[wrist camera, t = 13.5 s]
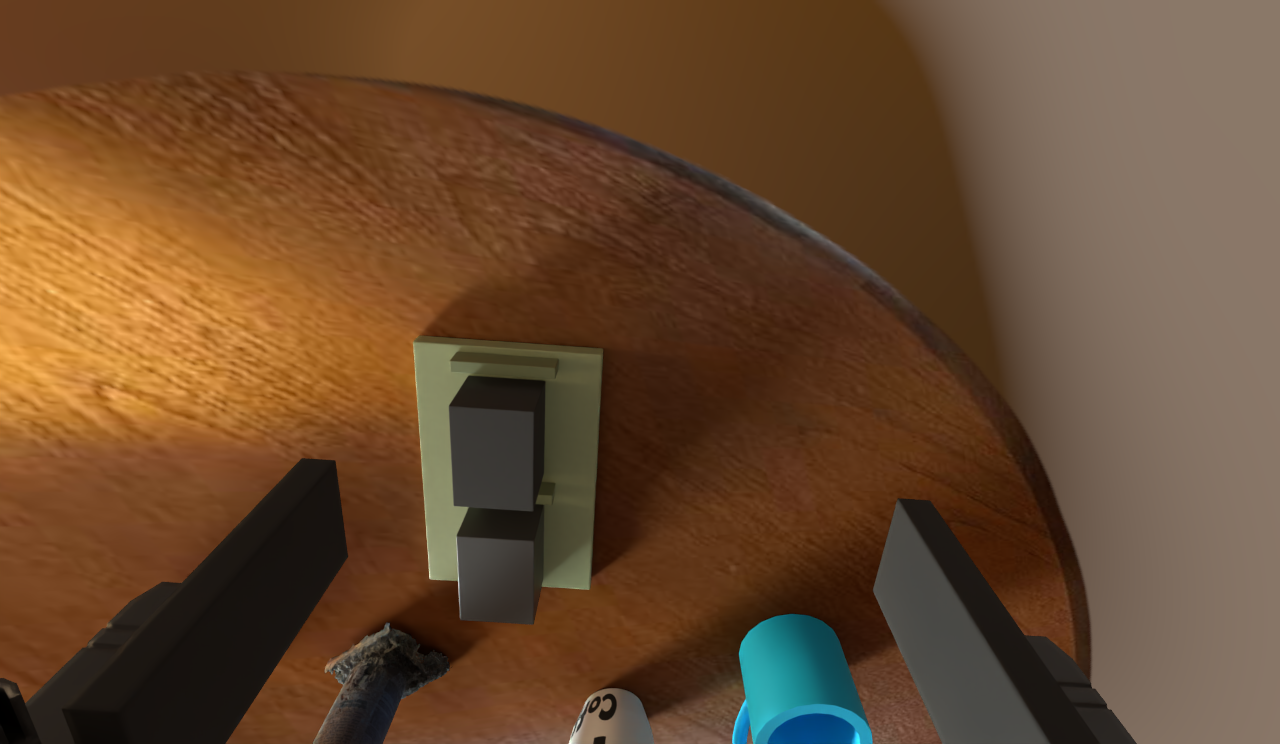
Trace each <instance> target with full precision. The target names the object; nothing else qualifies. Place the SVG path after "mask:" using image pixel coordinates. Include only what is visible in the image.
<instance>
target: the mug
mask: <svg viewBox="0 0 1280 744" xmlns="http://www.w3.org/2000/svg"><path fill="white" fill-rule="evenodd" d="M739 658H740V664H741V671H742V677H743V683H744V689H745V695H746V700H745V702H744V703H743V705H742V707H741V709H740V712H739V714H738V717H737V719H736V723H735V727H734V732H733V744H747V735H748V730H749V726H751V732H752V738H753V744H872V732H871V729H870V727H869V724H868V721H867V718H866V715H865V712H864V710H863V707H862V704H861V701H860V698H859V695H858V693H857V690H856V687H855V684H854V681H853V678H852V675H851V673H850V670H849V667H848V664H847V661H846V658H845V656H844V653H843V650H842V647H841V644H840V641H839V639H838V637H837V636H836V634H835V632H834V630H833V629H832V628H831V627H829V626H828V625H827V624H826V623H824V622H823V621H821V620H819V619H816V618H814V617H811V616H808V615H799V614H787V615H780V616H775V617H772V618H770V619H767V620H765V621H762V622H761V623H759V624H758V625H757V626H755V627H754V628H753V629H751V630H750V631H749V632H748V634H747V635H746V636H745V638H744V639H743V641H742V642H741V647H740V651H739Z"/></svg>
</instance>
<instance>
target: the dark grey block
mask: <svg viewBox="0 0 1280 744" xmlns="http://www.w3.org/2000/svg"><path fill="white" fill-rule="evenodd" d="M545 383H546V382H545V381H540V380H526V379H512V378H497V377H483V376H468V377H467V378H466V380H465V381H464V383H463V385H462V386H461V388H460V389H459V391H458V392H457V394H456V395H455V397H454V398H453V400H452V401H451V403H450V405H449V424H450V444H451V465H452V485H453V505H454V506H460V507H475V508H490V509H505V510H520V511H534V507H535V504H536V500H537V497H538V493H539V489H540V486H541V482H542V479H543V475H544V446H545Z"/></svg>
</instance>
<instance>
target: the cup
mask: <svg viewBox="0 0 1280 744" xmlns="http://www.w3.org/2000/svg"><path fill="white" fill-rule="evenodd" d="M569 744H654V740H653V735H652V730H651V727H650V725H649V722H648V719H647V716H646V713H645V711H644V708H643V705H642V703H641V701H640V699H639V698H638V697H637V696H636V695H634V694H633V693H631V692H629V691H626V690H623V689H618V688H608V689H603V690H600V691H597V692H595V693H594V694H592V695H591V696H590V697H589V698H588V699H587V701H586V703H585V705H584V707H583V709H582V711H581V713H580V715H579V717H578V720H577V722H576V724H575V726H574V728H573V732H572V735H571V738H570V742H569Z"/></svg>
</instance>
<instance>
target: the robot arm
mask: <svg viewBox="0 0 1280 744" xmlns="http://www.w3.org/2000/svg"><path fill="white" fill-rule="evenodd" d="M347 557H348V553H347V546H346V538H345V530H344V523H343V515H342V507H341V500H340V492H339V485H338V477H337V469H336V462H335V460H320V459H305V458H302V459H301V460H300V461H299V462H298V463H297V464H296V465H295V466H294V467H293V468H292V469H291V470H290V471H289V472H288V473H287V474H286V475H285V477H284V478H283V479H282V480H281V481H280V482H279V483H278V484H277V485H276V486H275V487H274V488H273V489H272V490H271V491H270V492H269V493H268V494H267V495H266V496H265V497H264V498H263V499H262V500H261V501H260V502H259V504H258V505H257V506H256V507H255V508H254V509H253V510H252V511H251V512H250V513H249V514H248V515H247V516H246V517H245V518H244V519H243V520H242V521H241V522H240V523H239V524H238V525H237V526H236V527H235V528H234V529H233V531H232V532H231V533H230V534H229V535H228V536H227V537H226V538H225V539H224V540H223V541H222V542H221V543H220V544H219V545H218V546H217V547H216V548H215V549H214V550H213V551H212V552H211V553H210V554H209V555H208V557H207V558H206V559H205V560H204V561H203V562H202V563H201V564H200V565H199V566H198V567H197V568H196V569H195V570H194V571H193V572H192V573H191V574H190V575H189V576H188V577H187V578H186V579H185V580H184V581H183V582H182V583H171V582H161V583H160V584H158V585H156V586H155V587H153V588H151V589H150V590H148V591H146V592H145V593H143V594H141V595H140V596H138V597H137V598H135V599H133V600H132V601H130V602H129V603H128V604H127V605H126V606H125V607H124V608H123V609H122V610H121V611H120V612H119V613H118V614H117V615H116V616H115V617H114V618H113V619H112V620H111V621H110V622H109V623H108V624H107V627H106V628H102V629H101V630H100V631H99V632H98V633H97V634H96V635H95V636H94V637H93V638H92V639H91V640H90V641H89V642H88V645H87V647H86V648H82V649H81V650H80V651H79V652H78V653H77V654H76V655H75V656H74V657H73V658H72V659H71V660H70V661H68V662H67V663H66V664H65V665H64V666H63V667H62V668H61V669H60V670H59V671H58V672H57V673H56V674H55V675H54V676H53V677H52V678H51V679H50V680H49V681H48V682H47V683H46V684H45V685H44V686H43V687H42V688H41V689H40V690H39V691H38V692H37V693H36V694H34V695H33V696H32V697H31V698H30V699H29V700H28V701H27V702H26V703H25V702H24V700H23V697H22V695H21V693H20V690H19V688H18V686H17V683H14V682H12V681H9V680H7V679H4V678H0V744H225V743H226V742H227V740H228V739H229V737H230V736H231V734H232V733H233V731H234V730H235V728H236V727H237V725H238V724H239V722H240V721H241V719H242V718H243V716H244V714H245V713H246V711H247V710H248V708H249V707H250V705H251V704H252V702H253V701H254V699H255V698H256V696H257V695H258V693H259V692H260V690H261V689H262V687H263V685H264V684H265V682H266V681H267V679H268V678H269V676H270V675H271V673H272V672H273V670H274V669H275V667H276V666H277V664H278V663H279V661H280V660H281V658H282V657H283V655H284V653H285V652H286V650H287V649H288V647H289V646H290V644H291V643H292V641H293V640H294V638H295V637H296V635H297V634H298V632H299V631H300V629H301V628H302V626H303V624H304V623H305V621H306V620H307V618H308V617H309V615H310V614H311V612H312V611H313V609H314V608H315V606H316V605H317V603H318V602H319V600H320V599H321V597H322V596H323V594H324V592H325V591H326V589H327V588H328V586H329V585H330V583H331V582H332V580H333V579H334V577H335V576H336V574H337V573H338V571H339V570H340V568H341V567H342V565H343V563H344V562H345V560H346V559H347ZM873 592H874V594H875V597H876V599H877V601H878V603H879V605H880V608H881V610H882V612H883V614H884V616H885V618H886V621H887V623H888V625H889V627H890V629H891V632H892V634H893V636H894V638H895V640H896V643H897V645H898V647H899V649H900V651H901V654H902V656H903V658H904V660H905V662H906V665H907V667H908V669H909V671H910V673H911V676H912V678H913V680H914V682H915V684H916V686H917V689H918V691H919V693H920V695H921V697H922V700H923V702H924V704H925V706H926V708H927V711H928V713H929V715H930V717H931V719H932V722H933V724H934V726H935V728H936V730H937V733H938V735H939V737H940V739H941V741H942V744H1136V742H1135V741H1134V739H1133V738H1132V737H1131V736H1130V734H1129V733H1128V732H1127V730H1126V729H1125V728H1124V726H1123V725H1122V724H1121V722H1120V721H1119V720H1118V719H1117V717H1116V716H1115V715H1114V713H1113V712H1112V710H1109V709H1108V708H1107V704H1106V703H1105V701H1104V700H1103V698H1102V697H1101V696H1100V695H1099V693H1098V692H1097V691H1096V689H1092V687H1091V683H1090V681H1089V680H1088V679H1087V677H1086V676H1085V675H1084V673H1083V672H1082V671H1081V669H1080V668H1079V667H1078V665H1077V664H1076V663H1075V661H1074V660H1073V659H1072V658H1071V657H1070V656H1068V655H1067V654H1066V653H1065V652H1064V651H1062V650H1061V649H1060V648H1059V647H1057V646H1056V645H1055V644H1054V643H1053V642H1051V641H1050V640H1049V639H1048V638H1047V637H1042V636H1026V635H1024V634H1023V633H1022V631H1021V630H1020V628H1019V627H1018V625H1017V624H1016V623H1015V621H1014V620H1013V618H1012V617H1011V615H1010V614H1009V613H1008V611H1007V610H1006V608H1005V607H1004V605H1003V604H1002V603H1001V601H1000V600H999V598H998V597H997V595H996V594H995V593H994V591H993V590H992V588H991V587H990V585H989V584H988V583H987V581H986V580H985V578H984V577H983V575H982V574H981V573H980V571H979V570H978V568H977V567H976V565H975V564H974V563H973V561H972V560H971V558H970V557H969V555H968V554H967V553H966V551H965V550H964V548H963V547H962V545H961V544H960V543H959V541H958V540H957V538H956V537H955V535H954V534H953V533H952V531H951V530H950V528H949V527H948V525H947V524H946V523H945V521H944V520H943V518H942V517H941V515H940V514H939V513H938V511H937V510H936V508H935V507H934V505H933V504H932V503H931V501H928V500H914V499H899V498H898V499H897V503H896V507H895V511H894V514H893V518H892V522H891V525H890V529H889V533H888V537H887V540H886V544H885V548H884V551H883V555H882V559H881V562H880V566H879V570H878V574H877V577H876V581H875V585H874V588H873Z"/></svg>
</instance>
